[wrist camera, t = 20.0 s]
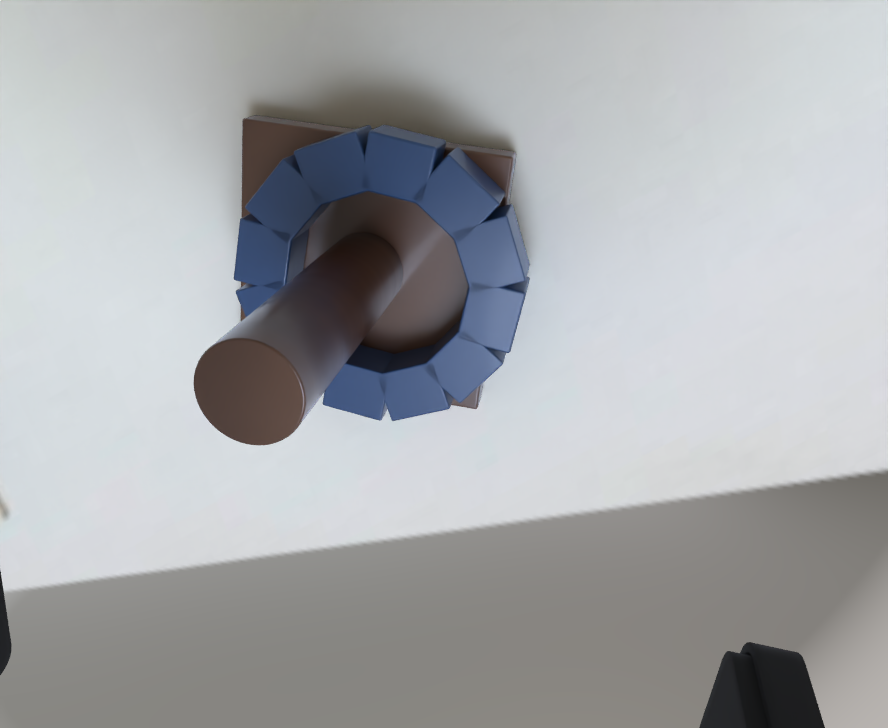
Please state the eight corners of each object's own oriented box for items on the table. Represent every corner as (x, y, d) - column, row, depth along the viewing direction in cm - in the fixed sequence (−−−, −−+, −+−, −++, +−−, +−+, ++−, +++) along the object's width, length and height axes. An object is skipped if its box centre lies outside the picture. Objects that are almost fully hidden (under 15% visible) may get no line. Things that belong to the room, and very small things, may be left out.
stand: (516, 151, 23) (466, 231, 14) (481, 397, 26) (421, 590, 17) (254, 114, 24) (49, 166, 15) (250, 356, 27) (79, 519, 18)
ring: (479, 88, 22) (471, 92, 20) (558, 364, 24) (556, 386, 23) (214, 175, 24) (190, 184, 23) (313, 419, 27) (297, 442, 25)
